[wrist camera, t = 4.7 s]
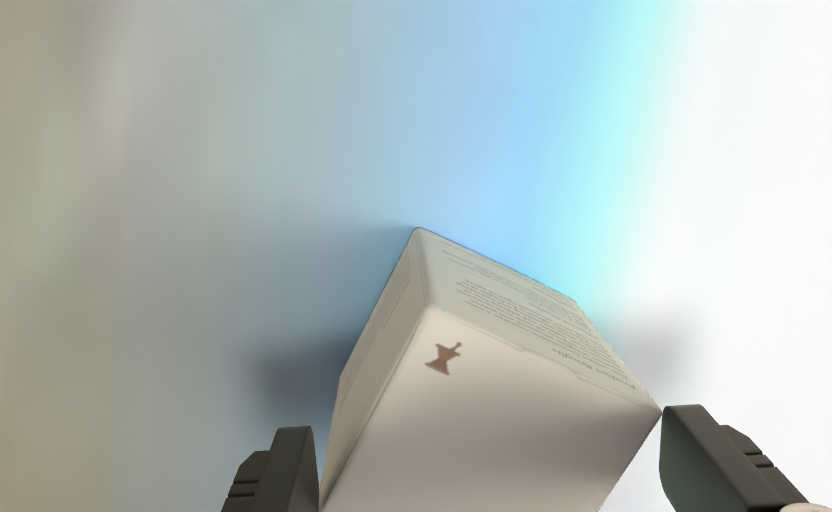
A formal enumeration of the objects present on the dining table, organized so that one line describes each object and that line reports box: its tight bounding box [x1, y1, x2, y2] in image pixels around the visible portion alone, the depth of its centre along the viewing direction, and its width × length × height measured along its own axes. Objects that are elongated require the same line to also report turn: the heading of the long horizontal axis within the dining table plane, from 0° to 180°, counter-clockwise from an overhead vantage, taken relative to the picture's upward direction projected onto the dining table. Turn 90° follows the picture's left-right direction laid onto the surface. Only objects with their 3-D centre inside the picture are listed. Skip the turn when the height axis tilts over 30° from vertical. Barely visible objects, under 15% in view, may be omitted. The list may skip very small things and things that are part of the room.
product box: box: [318, 228, 662, 512], centre depth 18 cm, size 6×6×7 cm
